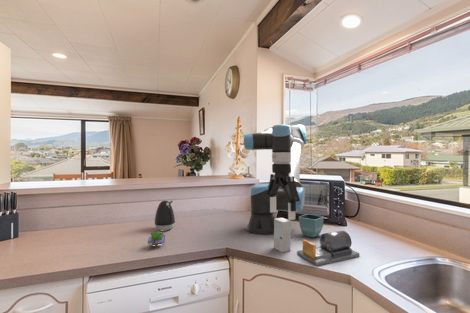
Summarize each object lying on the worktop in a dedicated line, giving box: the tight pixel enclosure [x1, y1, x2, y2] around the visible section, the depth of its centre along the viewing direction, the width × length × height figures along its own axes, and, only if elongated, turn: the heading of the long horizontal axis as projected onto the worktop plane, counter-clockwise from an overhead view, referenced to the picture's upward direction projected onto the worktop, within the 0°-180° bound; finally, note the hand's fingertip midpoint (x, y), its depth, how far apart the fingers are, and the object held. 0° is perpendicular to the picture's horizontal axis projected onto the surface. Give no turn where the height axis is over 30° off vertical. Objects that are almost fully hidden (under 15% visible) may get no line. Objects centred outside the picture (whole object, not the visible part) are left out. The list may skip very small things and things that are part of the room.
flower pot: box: [298, 213, 325, 238], centre depth 116 cm, size 9×9×9 cm
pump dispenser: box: [154, 200, 176, 231], centre depth 128 cm, size 10×10×15 cm
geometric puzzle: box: [147, 229, 166, 248], centre depth 103 cm, size 7×7×8 cm
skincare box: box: [273, 217, 292, 253], centre depth 100 cm, size 6×4×12 cm
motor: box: [296, 230, 360, 267], centre depth 93 cm, size 11×20×8 cm, turn 112°
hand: (281, 215), depth 99 cm, fingers open, 13 cm apart
